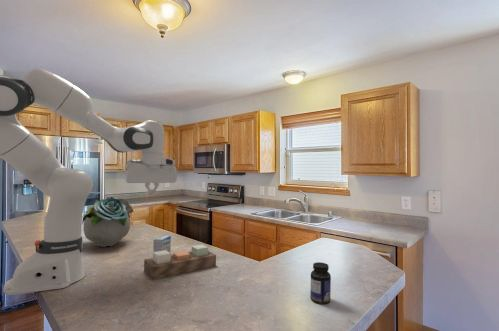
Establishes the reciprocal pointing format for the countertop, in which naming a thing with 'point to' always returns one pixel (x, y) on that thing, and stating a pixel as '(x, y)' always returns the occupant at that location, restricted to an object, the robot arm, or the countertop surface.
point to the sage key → (199, 250)
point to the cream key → (161, 257)
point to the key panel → (178, 265)
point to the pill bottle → (320, 283)
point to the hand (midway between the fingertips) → (151, 193)
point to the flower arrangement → (107, 221)
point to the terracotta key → (181, 255)
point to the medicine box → (162, 243)
